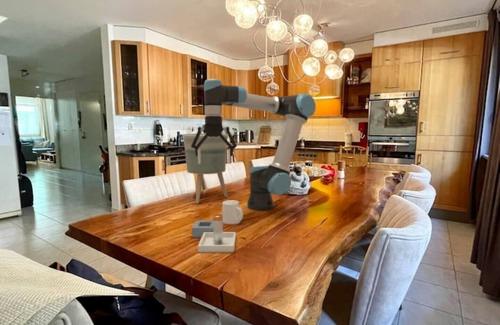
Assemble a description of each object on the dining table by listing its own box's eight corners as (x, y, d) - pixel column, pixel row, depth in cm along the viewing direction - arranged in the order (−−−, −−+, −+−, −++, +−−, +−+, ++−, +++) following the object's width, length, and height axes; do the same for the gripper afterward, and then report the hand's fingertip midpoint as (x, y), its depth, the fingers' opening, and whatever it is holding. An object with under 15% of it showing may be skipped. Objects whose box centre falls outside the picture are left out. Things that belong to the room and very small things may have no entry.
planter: (236, 196, 177) (236, 133, 172) (209, 207, 155) (207, 135, 150) (205, 191, 191) (204, 133, 186) (176, 200, 169) (173, 134, 164)
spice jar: (223, 241, 108) (223, 214, 107) (222, 245, 104) (222, 217, 103) (214, 241, 108) (213, 214, 107) (212, 245, 104) (212, 217, 103)
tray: (235, 237, 113) (235, 232, 112) (233, 252, 100) (233, 245, 99) (204, 237, 113) (204, 232, 112) (198, 252, 100) (197, 245, 100)
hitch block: (216, 229, 122) (216, 220, 122) (214, 237, 113) (213, 228, 113) (196, 229, 122) (196, 220, 122) (192, 237, 113) (191, 228, 113)
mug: (217, 202, 131) (230, 198, 137) (218, 221, 133) (230, 217, 138) (235, 207, 123) (247, 203, 129) (235, 227, 125) (247, 222, 130)
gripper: (241, 115, 125) (242, 162, 128) (187, 116, 125) (188, 162, 128) (241, 115, 118) (241, 164, 121) (183, 115, 118) (185, 164, 121)
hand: (214, 163), depth 124 cm, fingers open, 13 cm apart
